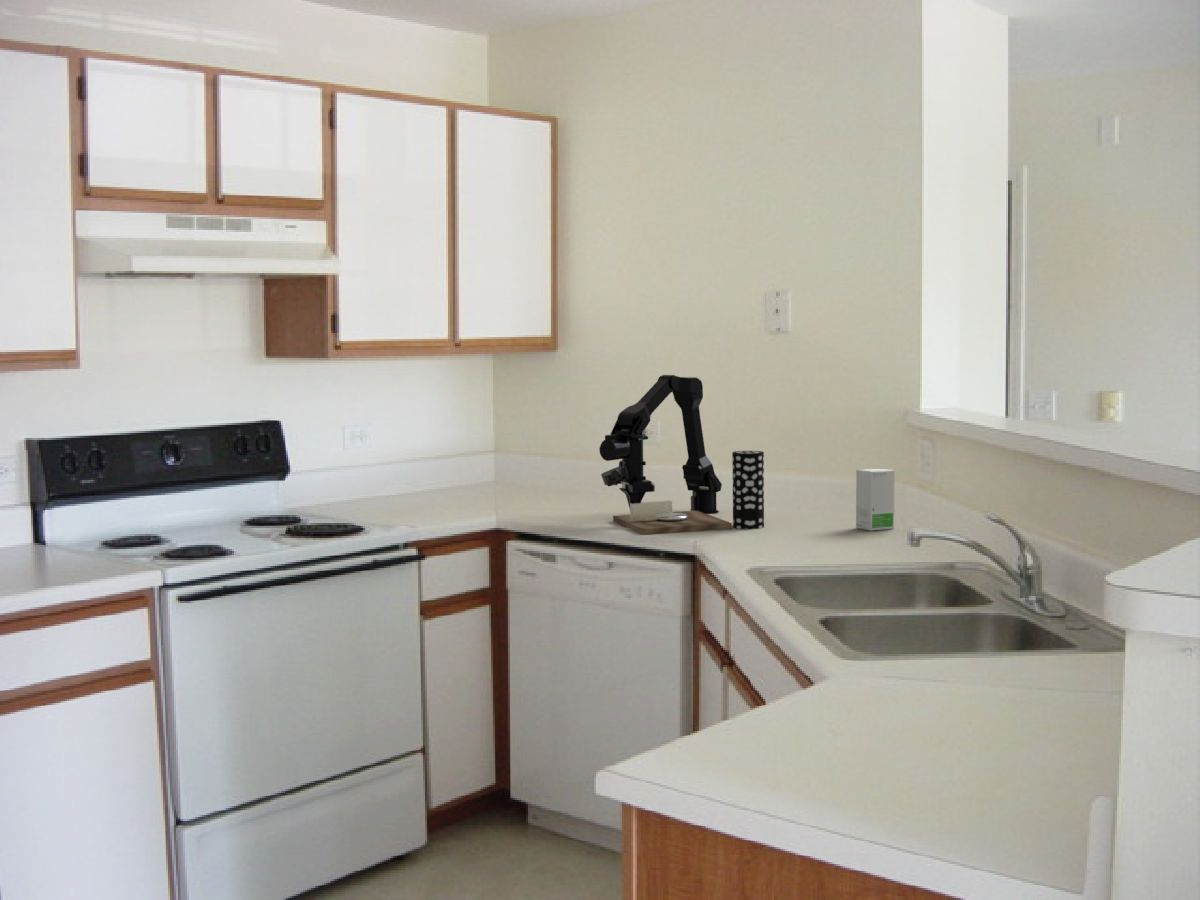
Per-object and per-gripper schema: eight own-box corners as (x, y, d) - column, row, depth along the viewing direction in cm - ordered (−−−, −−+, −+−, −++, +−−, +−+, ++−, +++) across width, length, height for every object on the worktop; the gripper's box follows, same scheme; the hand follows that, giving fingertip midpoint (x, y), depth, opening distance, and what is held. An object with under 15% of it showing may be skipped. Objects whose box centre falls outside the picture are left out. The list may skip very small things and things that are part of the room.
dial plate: (697, 515, 372) (696, 510, 372) (731, 528, 348) (731, 522, 348) (613, 521, 365) (613, 515, 365) (642, 534, 341) (642, 528, 341)
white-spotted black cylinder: (746, 523, 357) (745, 450, 355) (770, 526, 351) (770, 451, 349) (726, 526, 351) (725, 452, 349) (750, 530, 346) (750, 454, 344)
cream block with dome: (679, 514, 362) (679, 497, 362) (692, 519, 354) (692, 501, 353) (625, 518, 357) (625, 501, 356) (637, 523, 348) (637, 505, 348)
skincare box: (870, 531, 340) (870, 471, 338) (854, 528, 346) (854, 469, 344) (895, 528, 344) (895, 469, 342) (879, 525, 350) (879, 467, 348)
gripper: (594, 455, 360) (594, 511, 362) (614, 462, 343) (615, 521, 344) (632, 453, 364) (633, 508, 365) (655, 460, 346) (655, 519, 348)
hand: (633, 514), depth 356 cm, fingers closed
